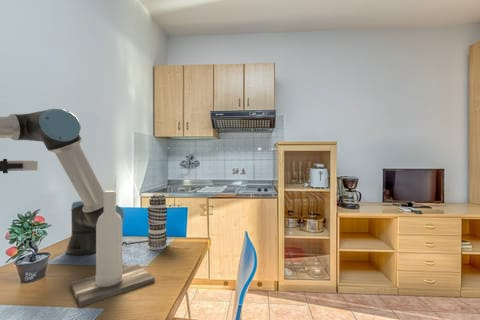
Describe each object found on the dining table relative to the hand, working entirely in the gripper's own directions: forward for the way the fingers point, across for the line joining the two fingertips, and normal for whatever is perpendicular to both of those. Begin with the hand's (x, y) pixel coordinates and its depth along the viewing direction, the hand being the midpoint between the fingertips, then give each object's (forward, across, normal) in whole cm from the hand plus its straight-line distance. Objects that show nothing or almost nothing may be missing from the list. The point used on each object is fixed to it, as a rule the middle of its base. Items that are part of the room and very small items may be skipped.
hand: (35, 165), depth 82 cm
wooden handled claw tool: (+45, -22, -41) cm, 64 cm away
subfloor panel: (+20, +13, -40) cm, 46 cm away
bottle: (+18, +13, -39) cm, 45 cm away
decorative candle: (+47, -12, -40) cm, 63 cm away
